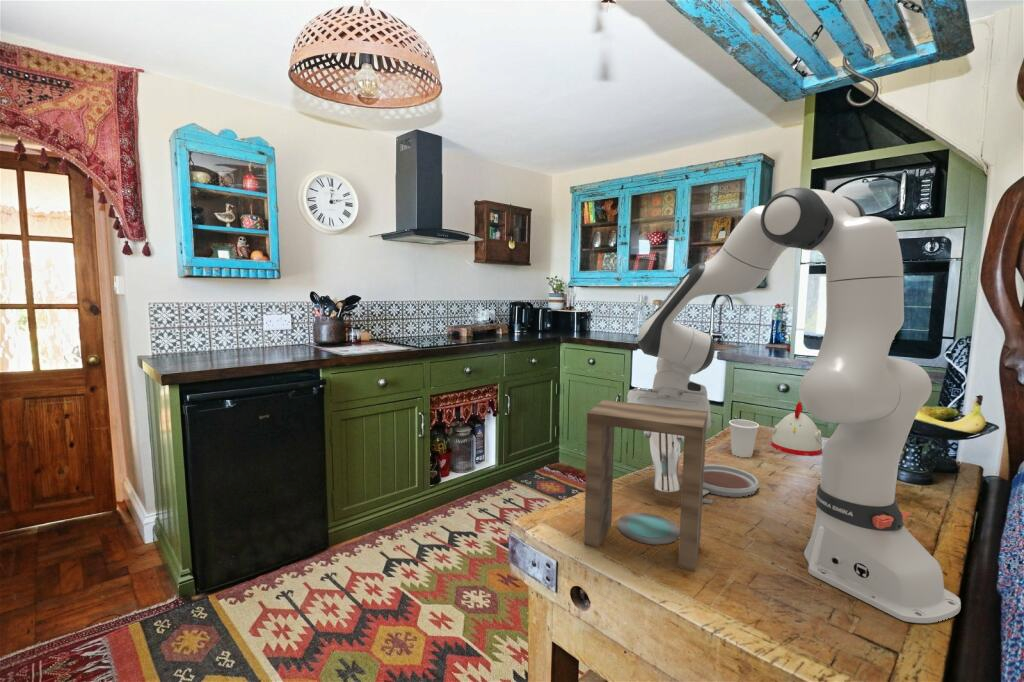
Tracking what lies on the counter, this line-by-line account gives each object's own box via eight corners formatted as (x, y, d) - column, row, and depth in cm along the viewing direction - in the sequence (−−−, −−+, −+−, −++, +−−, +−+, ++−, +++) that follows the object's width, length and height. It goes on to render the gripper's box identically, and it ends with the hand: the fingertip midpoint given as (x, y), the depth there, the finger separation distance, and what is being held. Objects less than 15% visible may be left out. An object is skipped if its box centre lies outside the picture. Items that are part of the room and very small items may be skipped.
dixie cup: (746, 461, 142) (748, 428, 141) (721, 452, 149) (723, 421, 148) (762, 456, 146) (765, 424, 145) (737, 448, 153) (739, 417, 152)
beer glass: (685, 485, 116) (682, 423, 116) (678, 494, 110) (675, 429, 110) (656, 482, 120) (653, 422, 120) (648, 490, 114) (645, 427, 114)
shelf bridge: (607, 506, 113) (611, 393, 110) (703, 525, 104) (710, 404, 101) (584, 543, 96) (587, 413, 93) (695, 571, 87) (702, 427, 84)
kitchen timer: (766, 449, 153) (770, 403, 151) (776, 438, 163) (779, 395, 162) (818, 459, 144) (822, 410, 142) (824, 447, 155) (828, 402, 153)
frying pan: (651, 485, 120) (709, 458, 137) (651, 497, 120) (708, 468, 138) (717, 510, 107) (771, 476, 124) (716, 523, 107) (770, 487, 125)
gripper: (627, 380, 124) (617, 426, 117) (712, 387, 115) (708, 437, 108) (630, 393, 129) (621, 439, 121) (713, 401, 120) (708, 451, 112)
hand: (663, 438), depth 114 cm, fingers closed on beer glass, 6 cm apart
